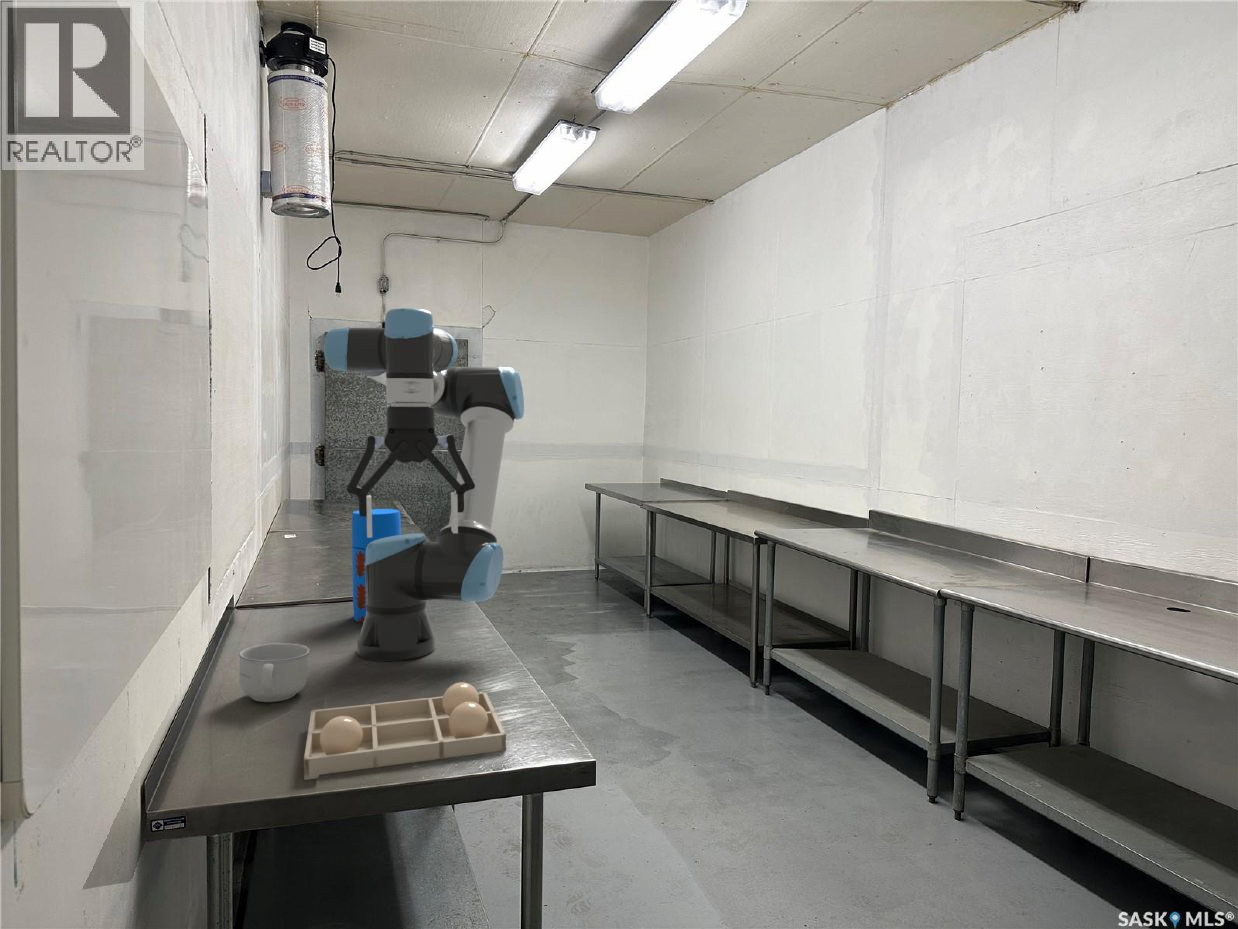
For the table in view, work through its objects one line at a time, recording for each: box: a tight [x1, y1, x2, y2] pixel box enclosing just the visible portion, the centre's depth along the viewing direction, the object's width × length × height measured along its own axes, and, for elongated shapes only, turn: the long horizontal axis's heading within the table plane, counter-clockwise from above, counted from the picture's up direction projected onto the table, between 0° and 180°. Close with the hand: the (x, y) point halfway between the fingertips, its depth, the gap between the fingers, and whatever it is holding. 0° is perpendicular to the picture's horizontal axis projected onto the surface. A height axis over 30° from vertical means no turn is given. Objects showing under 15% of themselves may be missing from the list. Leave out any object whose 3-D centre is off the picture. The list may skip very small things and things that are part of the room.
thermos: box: [351, 508, 402, 623], centre depth 181 cm, size 11×11×25 cm
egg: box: [320, 716, 363, 755], centre depth 106 cm, size 6×6×6 cm
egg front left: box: [449, 702, 488, 739], centre depth 112 cm, size 6×6×6 cm
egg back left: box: [442, 681, 479, 716], centre depth 120 cm, size 6×6×6 cm
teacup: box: [238, 642, 311, 703], centre depth 129 cm, size 14×11×8 cm
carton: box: [303, 691, 507, 781], centre depth 113 cm, size 18×26×3 cm
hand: (412, 534), depth 128 cm, fingers open, 13 cm apart
